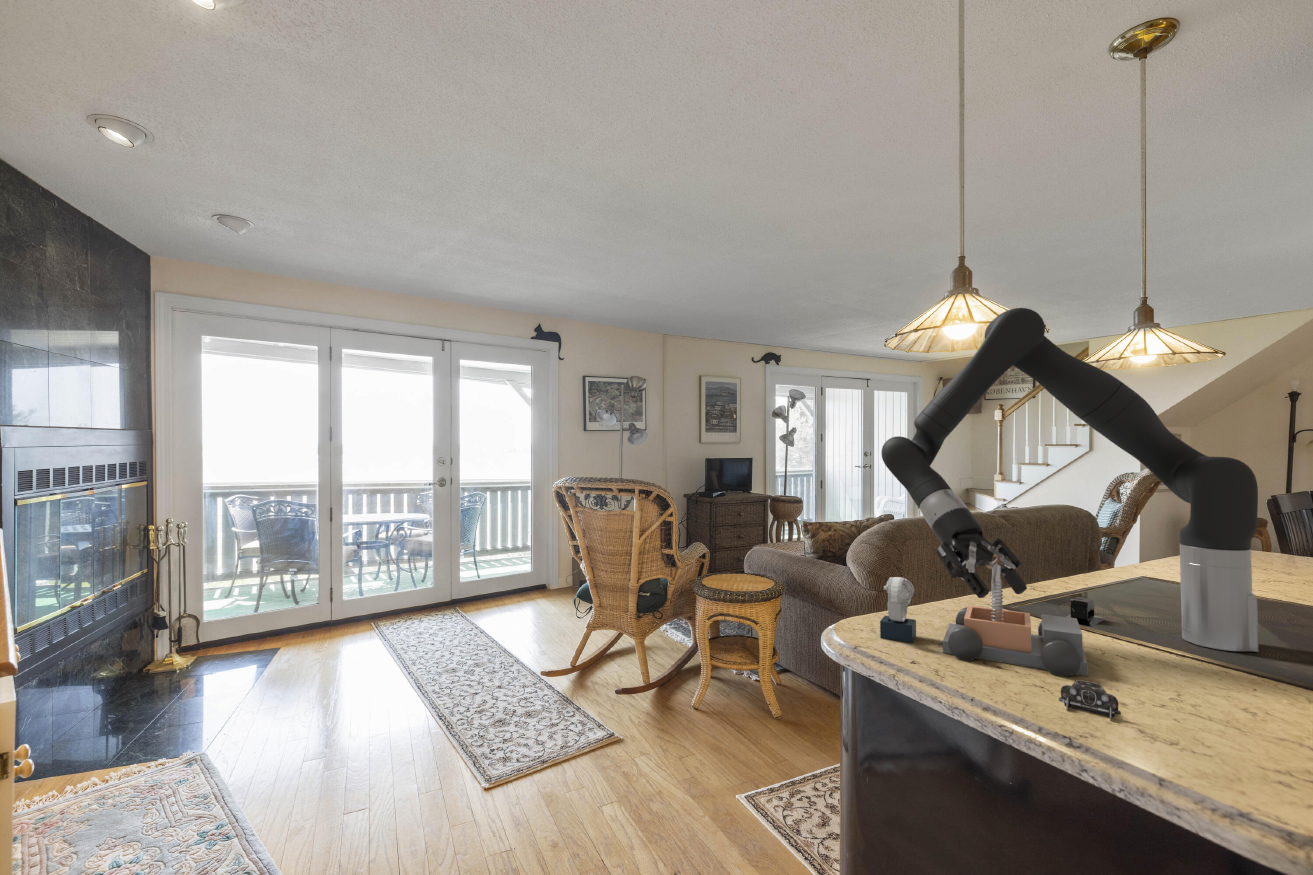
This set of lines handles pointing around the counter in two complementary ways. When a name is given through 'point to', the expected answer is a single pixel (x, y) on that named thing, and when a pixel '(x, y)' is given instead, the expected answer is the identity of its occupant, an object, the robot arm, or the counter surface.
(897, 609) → the bust statue
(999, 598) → the screw
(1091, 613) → the black boxy piece
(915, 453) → the robot arm
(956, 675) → the counter surface
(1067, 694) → the car cutout
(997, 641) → the toy chassis
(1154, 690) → the counter surface
